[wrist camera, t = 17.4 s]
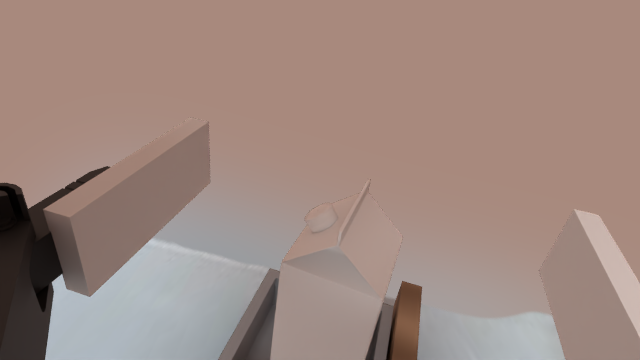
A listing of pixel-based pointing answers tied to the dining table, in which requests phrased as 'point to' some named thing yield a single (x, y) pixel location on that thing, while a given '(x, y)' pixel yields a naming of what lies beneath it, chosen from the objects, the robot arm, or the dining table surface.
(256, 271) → the dining table surface
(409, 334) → the walnut wall
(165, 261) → the dining table surface
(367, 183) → the milk carton
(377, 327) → the tray
